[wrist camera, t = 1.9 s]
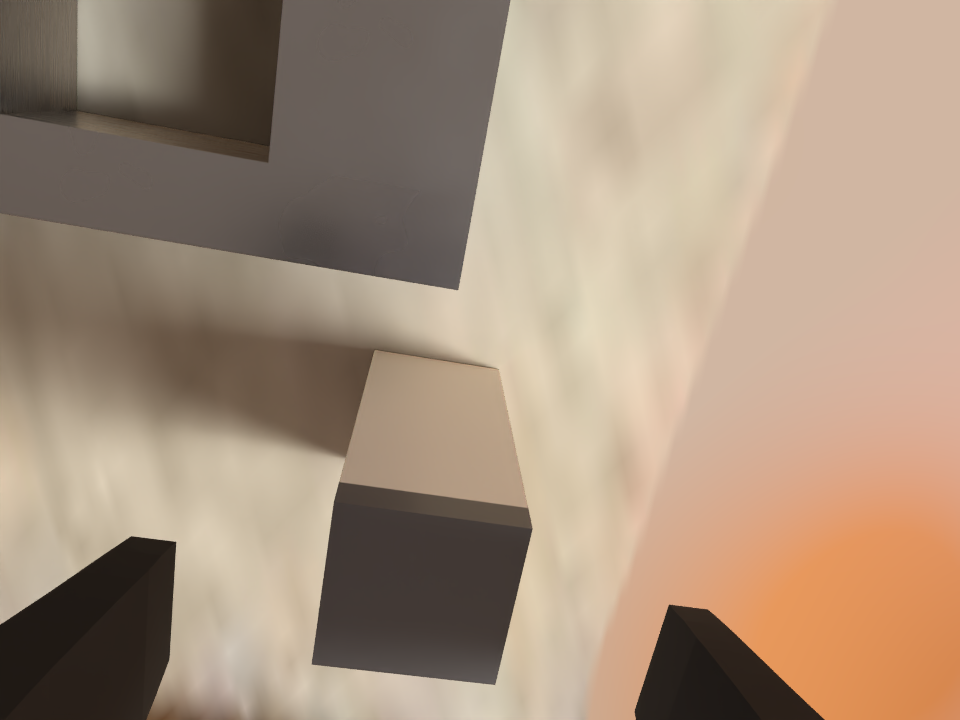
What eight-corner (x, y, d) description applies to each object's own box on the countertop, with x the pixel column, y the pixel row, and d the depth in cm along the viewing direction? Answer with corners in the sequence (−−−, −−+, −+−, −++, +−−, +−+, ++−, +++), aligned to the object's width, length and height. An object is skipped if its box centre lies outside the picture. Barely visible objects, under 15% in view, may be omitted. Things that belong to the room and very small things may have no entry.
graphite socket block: (455, 258, 17) (458, 296, 13) (-108, 160, 15) (-256, 177, 12) (526, -146, 14) (552, -220, 11) (-140, -302, 13) (-339, -440, 10)
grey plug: (476, 478, 19) (495, 684, 12) (358, 462, 18) (312, 664, 12) (499, 369, 18) (532, 528, 11) (374, 349, 17) (334, 501, 11)
